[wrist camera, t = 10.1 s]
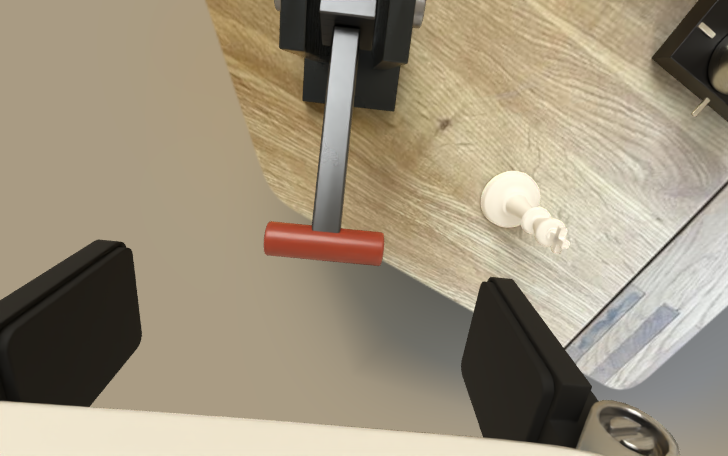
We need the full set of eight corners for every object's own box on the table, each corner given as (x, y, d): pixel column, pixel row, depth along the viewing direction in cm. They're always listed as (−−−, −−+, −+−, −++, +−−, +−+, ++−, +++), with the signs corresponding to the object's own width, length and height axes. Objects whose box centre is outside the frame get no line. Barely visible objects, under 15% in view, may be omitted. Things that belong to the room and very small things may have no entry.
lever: (378, 265, 17) (383, 267, 14) (271, 255, 16) (258, 254, 14) (403, -6, 17) (412, -47, 15) (302, -19, 17) (295, -63, 15)
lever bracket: (393, 110, 31) (421, 139, 16) (304, 100, 31) (251, 120, 16) (412, -38, 28) (470, -170, 13) (312, -51, 27) (254, -203, 12)
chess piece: (475, 223, 35) (517, 276, 25) (486, 167, 33) (536, 203, 23) (530, 228, 35) (592, 283, 25) (544, 173, 33) (617, 211, 24)
